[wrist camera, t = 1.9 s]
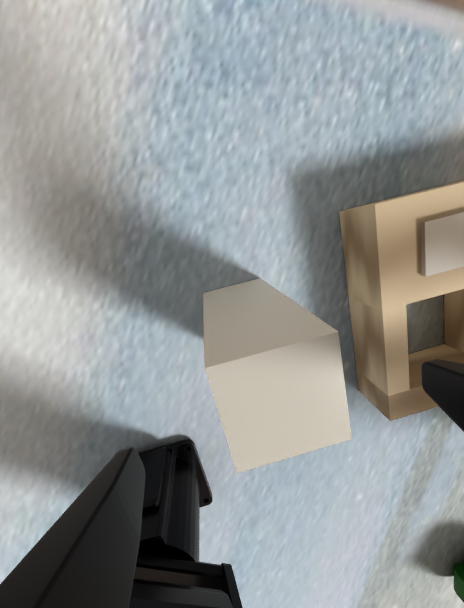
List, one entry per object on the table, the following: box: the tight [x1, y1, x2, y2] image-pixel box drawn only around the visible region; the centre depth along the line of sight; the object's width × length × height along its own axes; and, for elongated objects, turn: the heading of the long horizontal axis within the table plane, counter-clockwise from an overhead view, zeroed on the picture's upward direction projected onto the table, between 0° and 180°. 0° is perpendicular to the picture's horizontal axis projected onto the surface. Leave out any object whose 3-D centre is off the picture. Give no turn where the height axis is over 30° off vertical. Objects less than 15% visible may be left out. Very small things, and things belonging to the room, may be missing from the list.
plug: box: [203, 278, 352, 473], centre depth 13 cm, size 4×4×10 cm
